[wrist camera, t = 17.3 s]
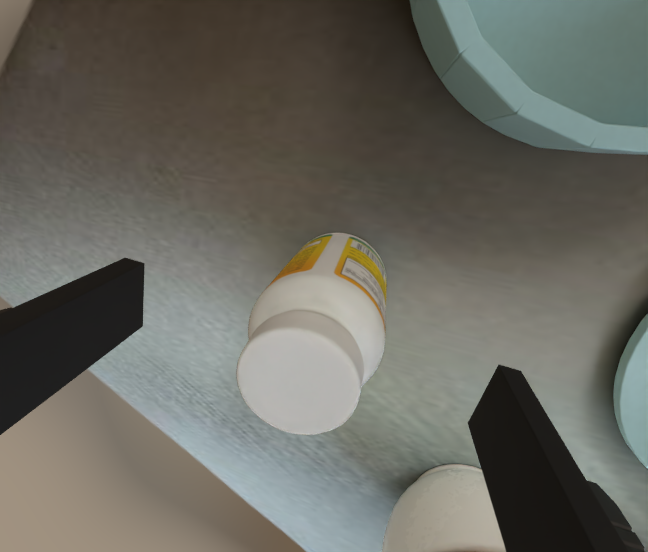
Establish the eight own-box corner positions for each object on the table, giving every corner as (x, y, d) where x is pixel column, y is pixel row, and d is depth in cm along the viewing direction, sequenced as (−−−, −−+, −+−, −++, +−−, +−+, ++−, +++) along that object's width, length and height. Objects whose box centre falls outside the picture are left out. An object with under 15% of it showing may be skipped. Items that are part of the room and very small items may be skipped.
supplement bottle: (394, 237, 18) (401, 325, 9) (378, 326, 20) (372, 468, 11) (294, 224, 19) (213, 293, 10) (288, 311, 21) (216, 434, 12)
